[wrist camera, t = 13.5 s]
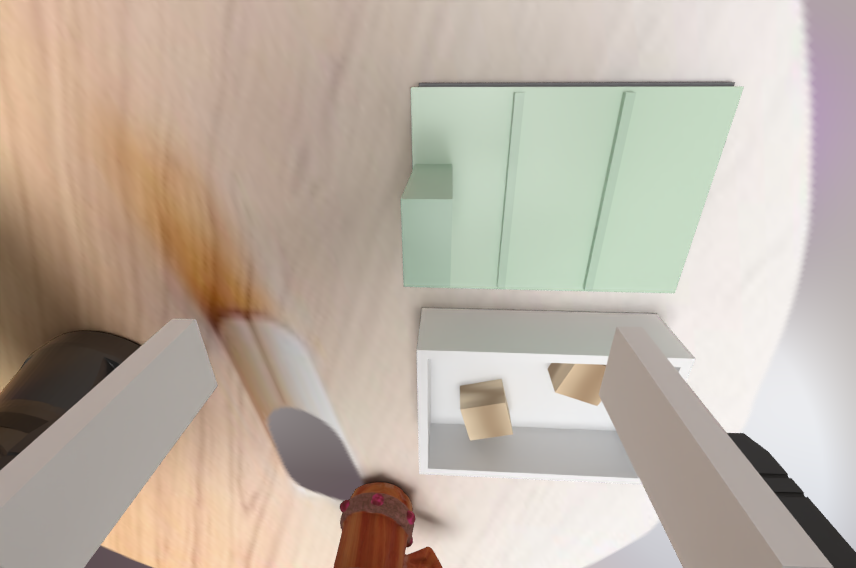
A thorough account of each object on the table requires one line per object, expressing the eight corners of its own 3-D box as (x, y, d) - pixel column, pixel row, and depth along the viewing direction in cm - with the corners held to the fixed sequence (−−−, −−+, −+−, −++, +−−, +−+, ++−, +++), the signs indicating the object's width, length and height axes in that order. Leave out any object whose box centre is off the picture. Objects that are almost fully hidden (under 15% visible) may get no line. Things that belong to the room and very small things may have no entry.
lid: (415, 282, 33) (403, 354, 24) (411, 87, 26) (392, 92, 17) (669, 288, 32) (748, 365, 23) (735, 86, 25) (882, 91, 16)
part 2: (547, 368, 36) (554, 392, 33) (569, 335, 34) (579, 357, 31) (586, 381, 36) (597, 406, 33) (610, 349, 34) (623, 372, 32)
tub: (423, 422, 41) (419, 474, 36) (422, 307, 34) (416, 349, 29) (619, 430, 40) (645, 484, 35) (656, 313, 33) (695, 358, 28)
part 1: (468, 415, 39) (469, 440, 36) (459, 385, 37) (460, 409, 35) (508, 409, 38) (513, 434, 36) (501, 378, 37) (505, 402, 34)
